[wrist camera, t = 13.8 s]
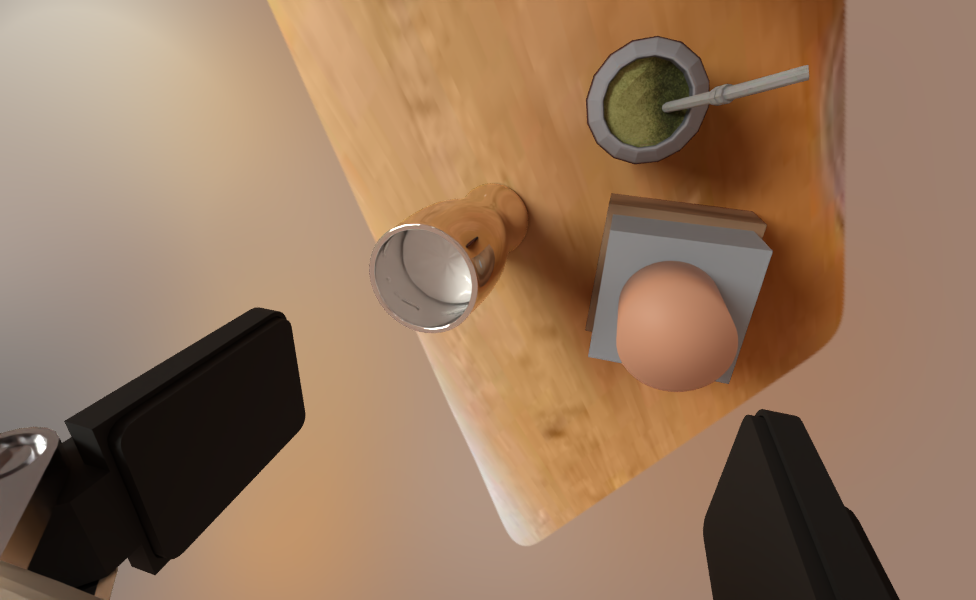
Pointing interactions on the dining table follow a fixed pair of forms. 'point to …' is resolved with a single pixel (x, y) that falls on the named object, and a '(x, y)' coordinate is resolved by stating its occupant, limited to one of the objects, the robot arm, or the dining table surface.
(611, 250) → the slate top block
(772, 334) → the dining table surface
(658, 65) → the mate gourd
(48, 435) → the robot arm
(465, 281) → the beer glass
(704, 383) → the peach rounded cylinder
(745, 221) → the walnut base block
